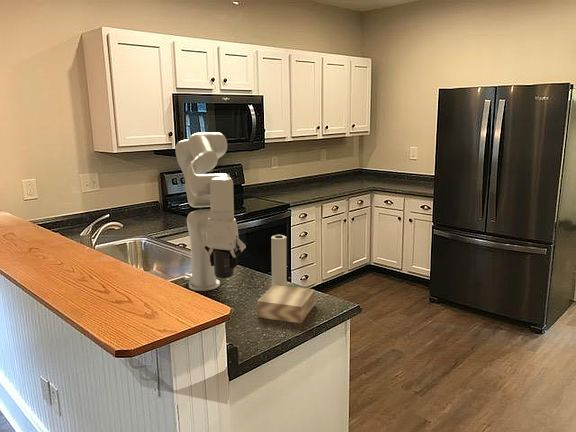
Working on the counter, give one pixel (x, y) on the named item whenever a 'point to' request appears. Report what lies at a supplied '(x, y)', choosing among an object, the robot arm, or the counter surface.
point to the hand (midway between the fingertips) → (223, 265)
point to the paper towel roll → (279, 260)
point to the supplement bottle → (222, 263)
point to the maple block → (286, 303)
